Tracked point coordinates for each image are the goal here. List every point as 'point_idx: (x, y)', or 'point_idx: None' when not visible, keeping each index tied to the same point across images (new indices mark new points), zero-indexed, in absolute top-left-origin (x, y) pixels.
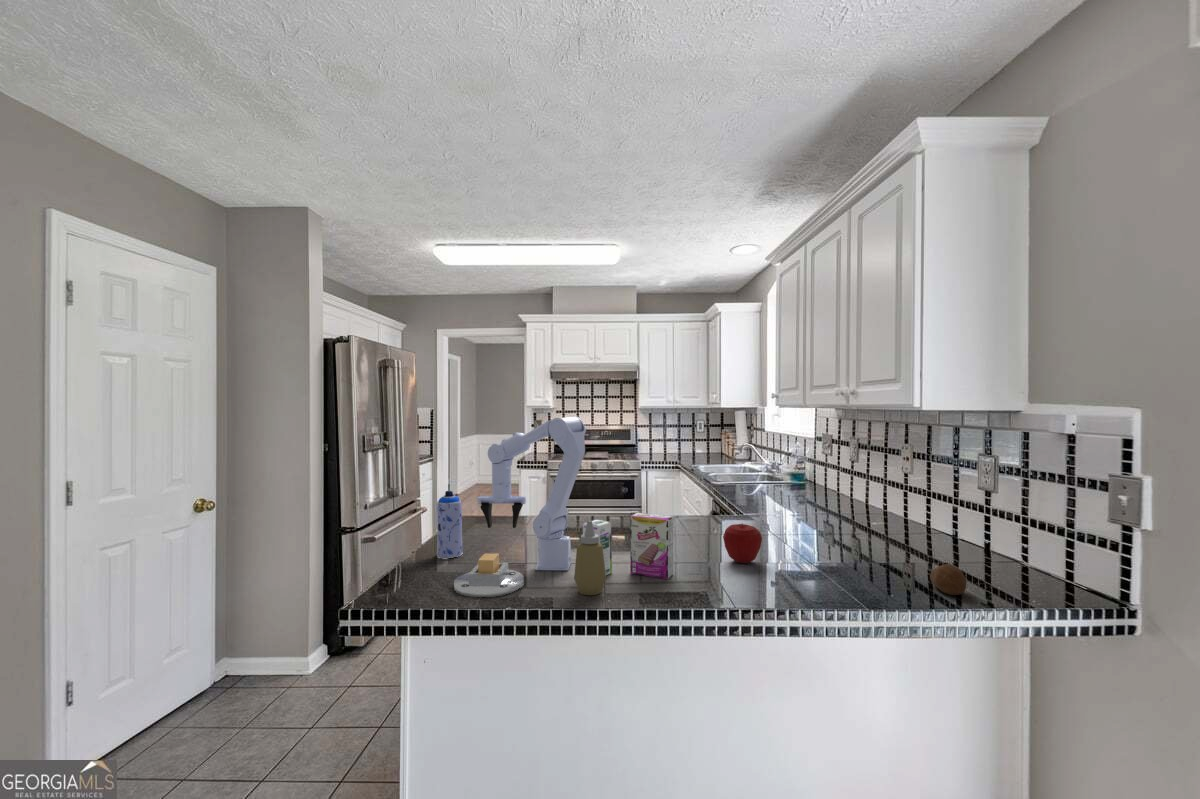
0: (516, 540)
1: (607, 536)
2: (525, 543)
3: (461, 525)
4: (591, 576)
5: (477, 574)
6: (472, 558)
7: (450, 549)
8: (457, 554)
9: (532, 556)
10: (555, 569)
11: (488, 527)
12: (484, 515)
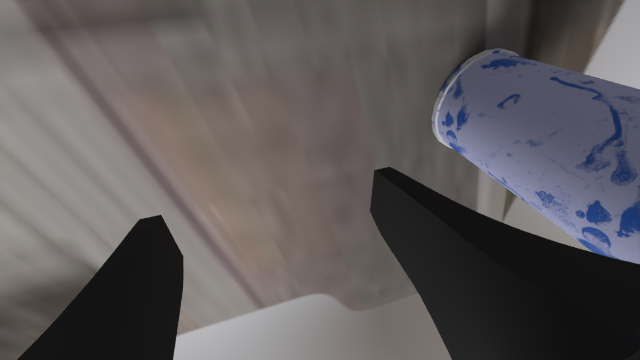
0: (285, 290)
1: None
2: (241, 280)
3: (547, 183)
4: None
5: None
6: (389, 77)
7: (509, 67)
8: (458, 83)
9: (105, 161)
10: None
11: (388, 168)
12: (503, 225)
